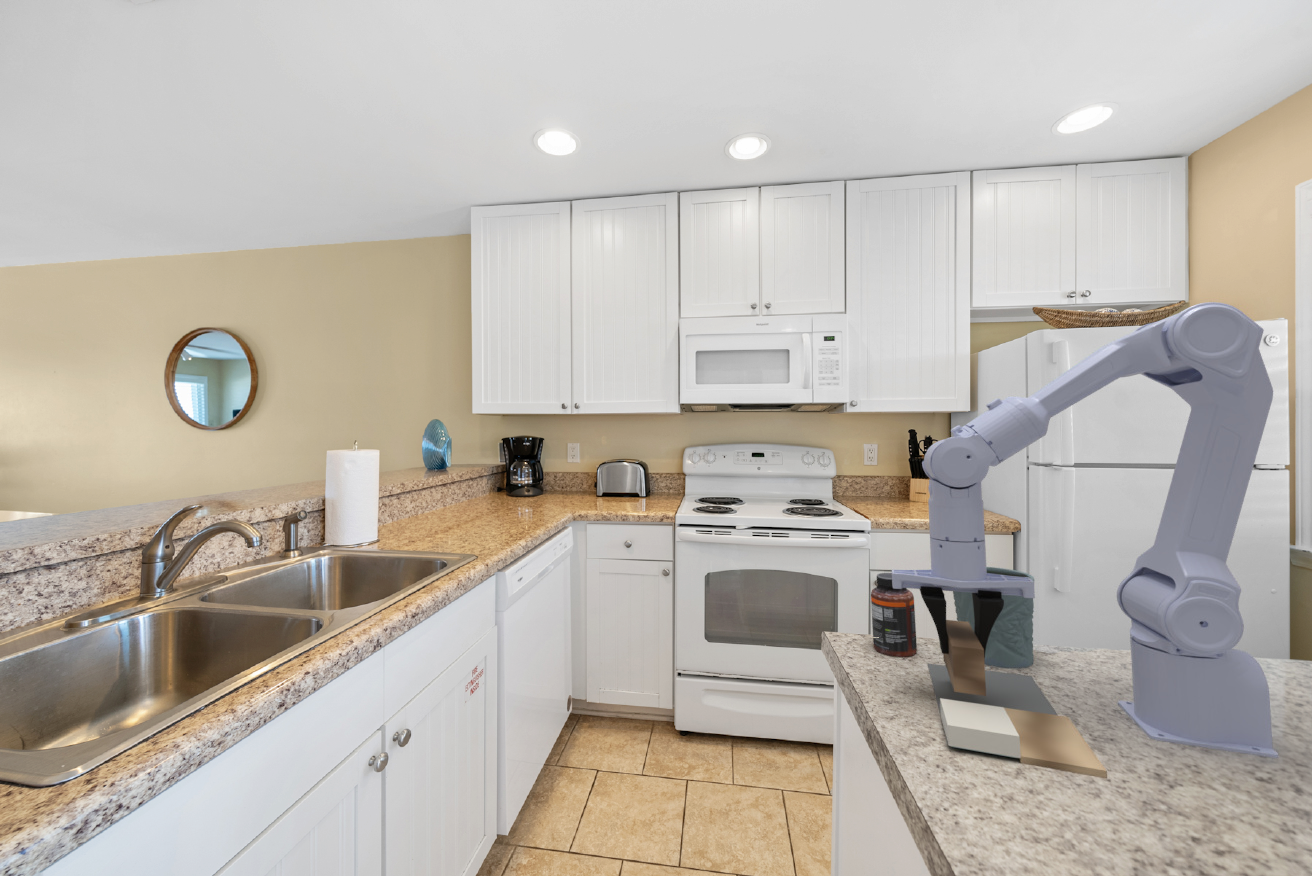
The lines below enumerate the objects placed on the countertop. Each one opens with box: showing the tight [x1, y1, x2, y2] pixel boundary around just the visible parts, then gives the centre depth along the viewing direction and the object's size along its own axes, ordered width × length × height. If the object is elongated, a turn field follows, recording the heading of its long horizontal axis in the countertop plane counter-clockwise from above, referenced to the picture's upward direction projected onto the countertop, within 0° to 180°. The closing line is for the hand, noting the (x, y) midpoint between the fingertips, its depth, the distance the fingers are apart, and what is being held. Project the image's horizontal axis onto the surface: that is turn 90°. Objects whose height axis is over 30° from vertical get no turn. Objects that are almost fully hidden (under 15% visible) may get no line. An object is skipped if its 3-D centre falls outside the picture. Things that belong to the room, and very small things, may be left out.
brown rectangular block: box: [942, 619, 986, 696], centre depth 61 cm, size 3×10×5 cm, turn 157°
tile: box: [940, 698, 1021, 759], centre depth 53 cm, size 6×2×6 cm
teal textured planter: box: [952, 566, 1035, 670], centre depth 73 cm, size 10×10×12 cm
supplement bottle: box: [870, 572, 918, 658], centre depth 77 cm, size 6×6×11 cm
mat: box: [926, 663, 1059, 746], centre depth 59 cm, size 12×21×1 cm, turn 157°
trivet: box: [1004, 708, 1108, 779], centre depth 52 cm, size 6×10×1 cm, turn 157°
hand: (962, 652), depth 61 cm, fingers closed on brown rectangular block, 3 cm apart
